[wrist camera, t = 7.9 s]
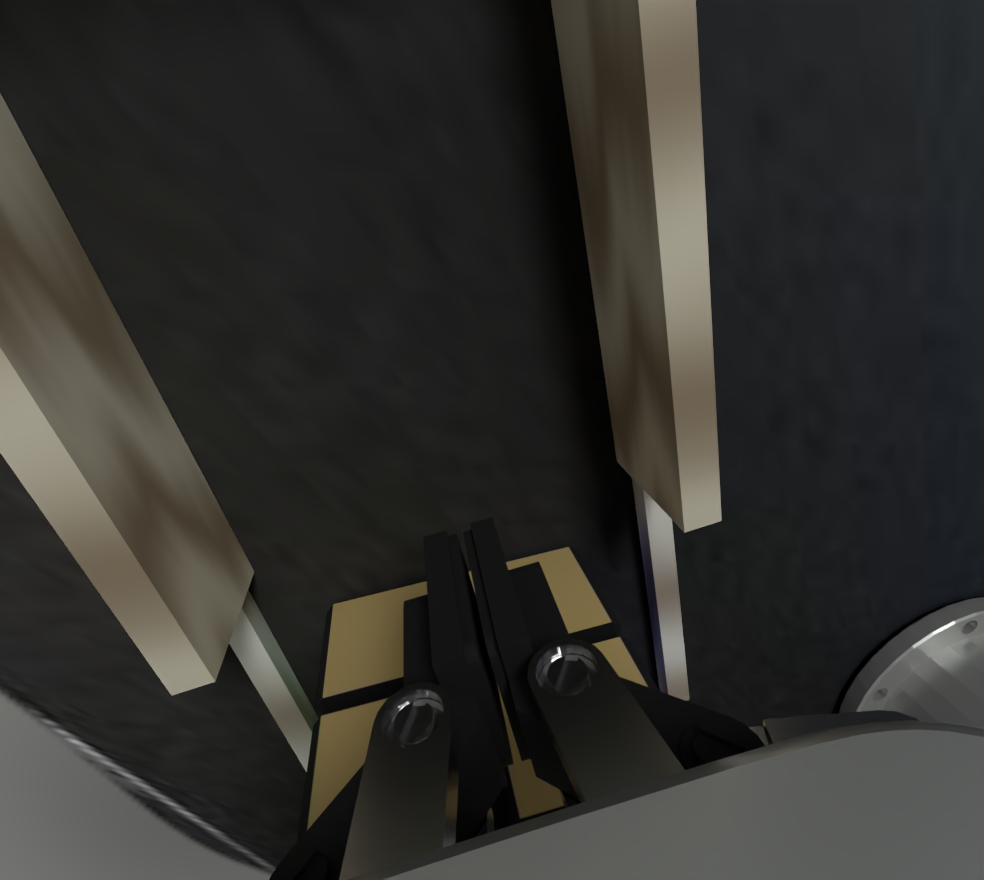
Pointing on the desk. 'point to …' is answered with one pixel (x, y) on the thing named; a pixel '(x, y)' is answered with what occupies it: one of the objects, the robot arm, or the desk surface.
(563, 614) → the puzzle cube
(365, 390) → the desk surface
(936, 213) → the desk surface
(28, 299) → the wooden frame
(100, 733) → the desk surface
